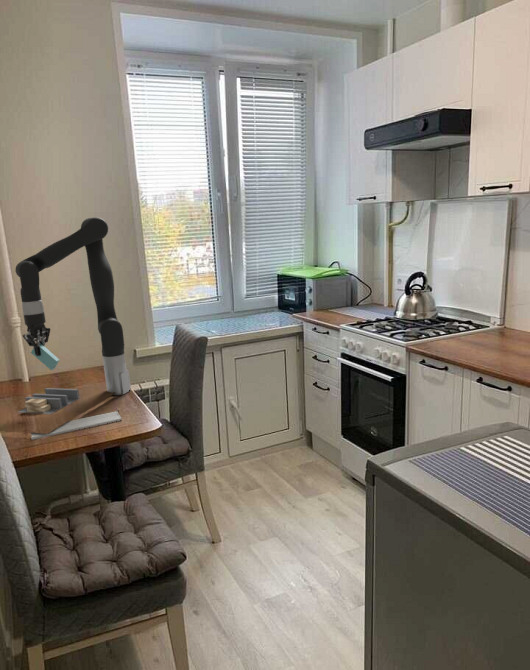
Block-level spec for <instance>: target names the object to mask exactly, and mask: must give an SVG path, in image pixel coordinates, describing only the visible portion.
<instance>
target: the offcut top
mask: <svg viewBox="0 0 530 670" xmlns="http://www.w3.org/2000/svg"><path fill="white" fill-rule="evenodd" d="M46 404H47V401H46V399H30V400H28V401H26V400H25V401H24V407H25V408H27V407H37V408H41V407H42V406H44V405H46Z"/></svg>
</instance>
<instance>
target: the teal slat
mask: <svg viewBox="0 0 530 670" xmlns="http://www.w3.org/2000/svg"><path fill="white" fill-rule="evenodd" d="M44 346H45V345H44ZM44 346H43V345H42V344H41V343H40V346H39V347H40V351H41V356H36V355H35V350H34V347H33V348H32V350H31V352H30V353H31V355H33V356H34V357H35V358H36V359H38V360H39V361H40V362H41V363H42V364H43V365H44V366H45V367H47V368H48V369H49V370H50V371H53V370H55V368H56V367H57V365H58V364H59V362H60V359H59V358H58V357H57V356H56V355H55V354H54V353H52V352H51V351H50V350H49V349H48V348H47V347H46V346H45V347H44Z"/></svg>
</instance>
